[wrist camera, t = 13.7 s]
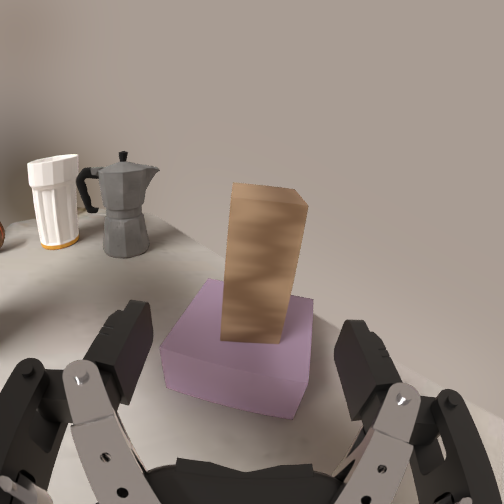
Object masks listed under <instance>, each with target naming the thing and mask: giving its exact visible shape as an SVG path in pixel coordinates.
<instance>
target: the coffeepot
mask: <svg viewBox="0 0 504 504" xmlns="http://www.w3.org/2000/svg"><path fill="white" fill-rule="evenodd" d="M127 154H128V152H125V151H122V152H119V159H120V162H118V163H115V164H113V165H110V166H108V167H95V168H91V167H90V168H84V169H82V171H81V172H80V173H79V175H78V176H77V177H76V185H77V188H78V190H79V193H80V195H81V198H82V200H83V202H84V205H85V208H86V210H87V212H88V213H97V212H98V209H99V208H94V207H92V206H91V199H90V196H89V195H88V192H87V187H86V184H85V182H84V180H85V179H86V178H94V179H99V184H100V189H101V195H102V200H103V205H104V207H106V213H107V216H106V217H105V223H104V238H103V249H104V251H105V252H106V254H107V255H109V256H111V257H115V258H129V257H134V256H138V255H140V254H142V253H144V252H145V251H146V250H147V249H148V246H149V244H150V243H149V239H148V234H147V230H146V225H145V220H144V215H143V214H142V207H141V205H142V204H143V203H144V198H145V191H146V189H147V187H148V185H149V183H150V181H151V180H152V178H153V177H154V175H155V174H156V173H157V172H158V171H160V170H159V169H158V168H157V167H153V166H147V165H141V164H135V163H131V162H126V159H127Z"/></svg>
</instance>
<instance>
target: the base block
mask: <svg viewBox="0 0 504 504" xmlns="http://www.w3.org/2000/svg"><path fill="white" fill-rule="evenodd" d="M223 288H224V282H223V281H219V280H214V279H210V278H208V279H207V281H206V282H205V283H204V285H203V286H202V288H201V289H200V290H199V292H198V293H197V295H196V296H195V297H194V299H193V300H192V302H191V303H190V304H189V306H188V307H187V309H186V310H185V311H184V313H183V314H182V316H181V317H180V318H179V320H178V321H177V323H176V324H175V325H174V327H173V328H172V330H171V331H170V333H169V334H168V335H167V337H166V338H165V340H164V341H163V343H162V344H161V345H160V347H159V348H160V354H161V360H162V366H163V372H164V378H165V383H166V388H169V389H172V390H175V391H178V392H181V393H184V394H187V395H190V396H193V397H196V398H199V399H203V400H206V401H210V402H213V403H217V404H221V405H224V406H228V407H232V408H236V409H241V410H245V411H249V412H254V413H259V414H263V415H269V416H274V417H279V418H285V419H291V420H293V418H294V415H295V413H296V411H297V409H298V406H299V404H300V402H301V400H302V397H303V395H304V392H305V390H306V388H307V385H308V381H309V369H310V355H311V340H312V322H313V299H310V298H304V297H299V296H293V295H291V296H290V300H289V304H288V309H287V313H286V318H285V322H284V326H283V330H282V334H281V339H280V343H279V344H262V343H243V342H228V341H220V333H221V317H222V302H223Z"/></svg>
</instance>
